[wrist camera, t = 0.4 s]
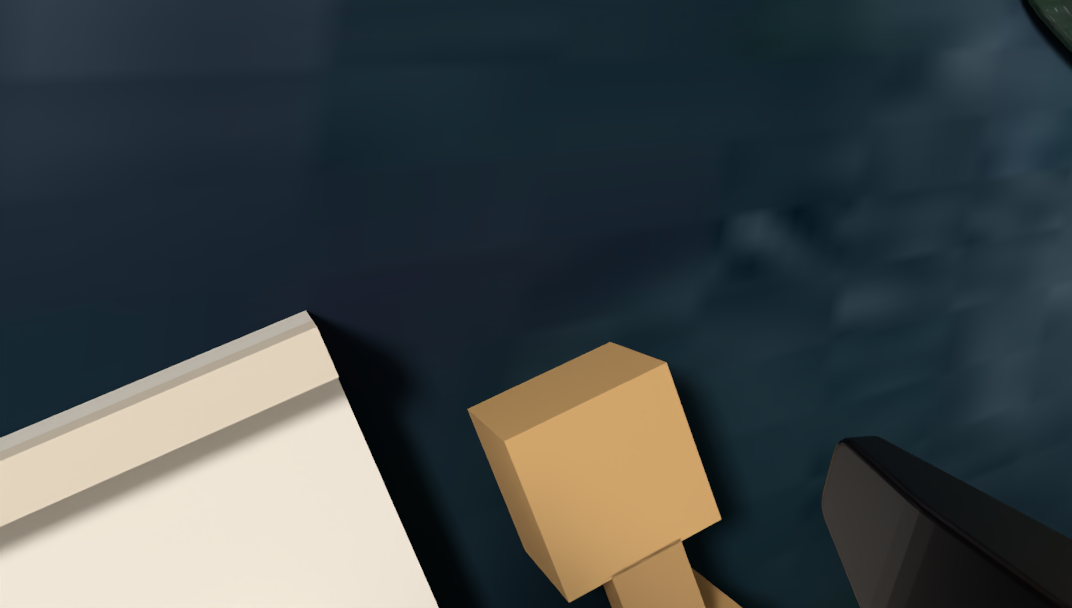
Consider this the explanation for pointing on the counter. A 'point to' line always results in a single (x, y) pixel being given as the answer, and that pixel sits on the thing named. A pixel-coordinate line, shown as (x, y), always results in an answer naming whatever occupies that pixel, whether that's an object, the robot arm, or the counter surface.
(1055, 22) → the coffee jar
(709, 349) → the counter surface
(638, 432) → the tan square dumbbell
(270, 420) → the display stand
